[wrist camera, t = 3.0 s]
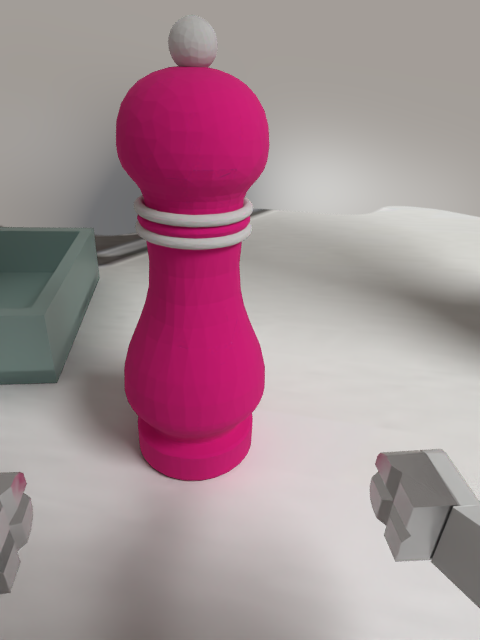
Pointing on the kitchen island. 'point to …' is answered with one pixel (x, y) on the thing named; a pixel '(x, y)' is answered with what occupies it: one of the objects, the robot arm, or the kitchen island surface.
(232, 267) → the pepper mill
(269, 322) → the kitchen island surface
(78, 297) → the tote
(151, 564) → the kitchen island surface
